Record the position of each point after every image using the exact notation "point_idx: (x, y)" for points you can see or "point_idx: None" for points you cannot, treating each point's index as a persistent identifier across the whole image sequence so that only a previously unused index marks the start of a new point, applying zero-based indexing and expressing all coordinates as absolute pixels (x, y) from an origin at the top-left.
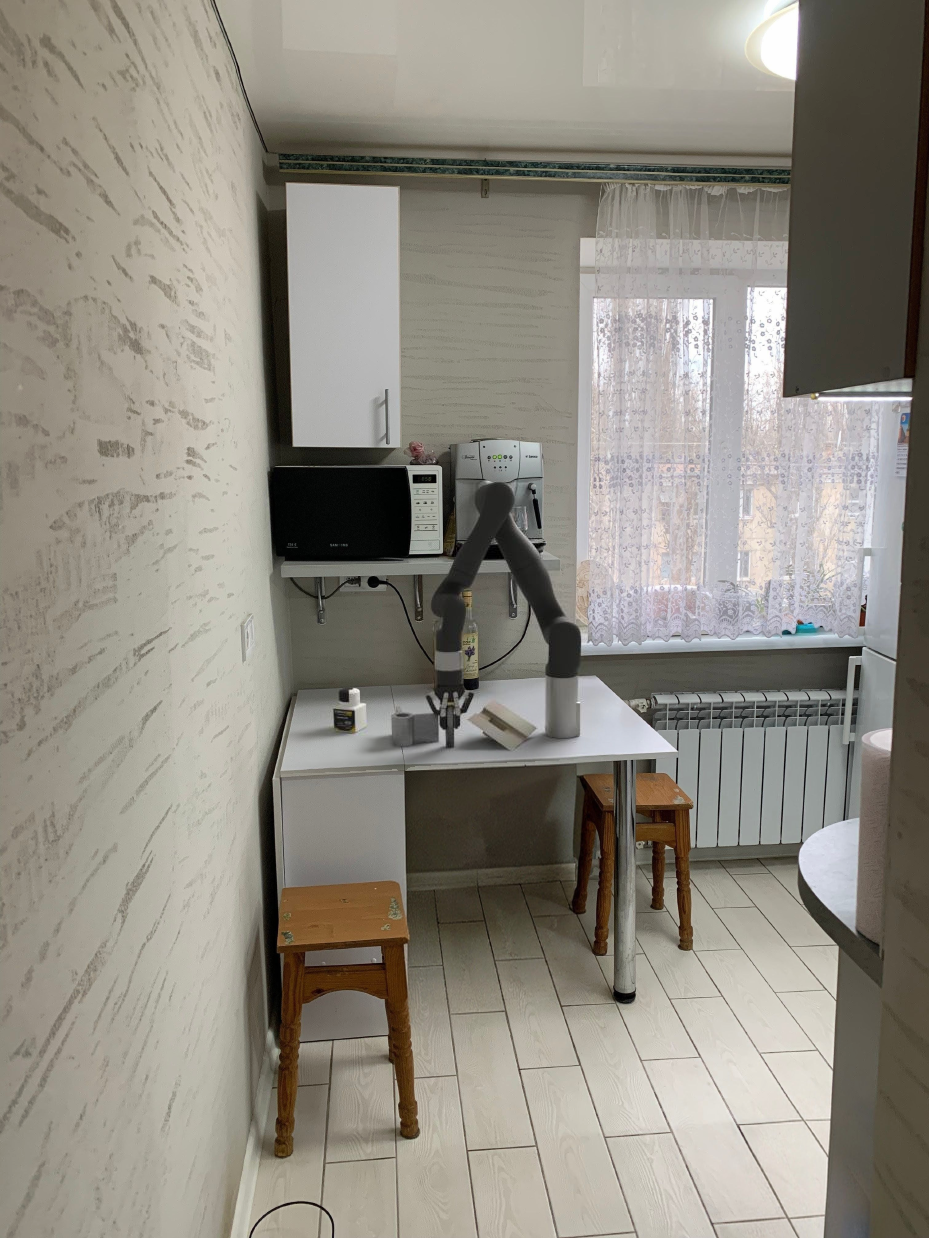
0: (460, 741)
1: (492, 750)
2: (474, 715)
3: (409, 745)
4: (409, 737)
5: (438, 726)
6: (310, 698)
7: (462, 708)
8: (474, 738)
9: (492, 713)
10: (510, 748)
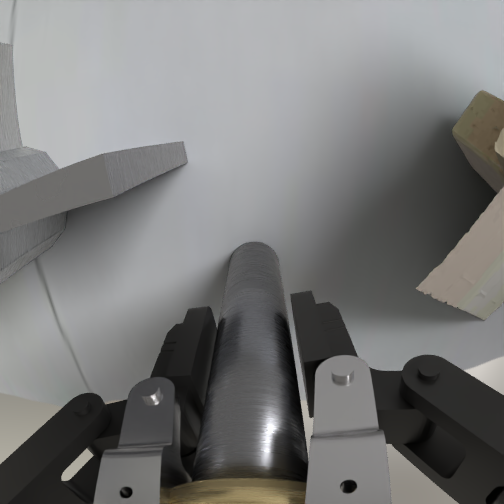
0: (319, 170)
1: (434, 323)
2: (493, 206)
3: (55, 241)
4: (33, 254)
5: (159, 174)
6: None
7: (405, 435)
8: (400, 123)
9: None
10: (491, 311)
